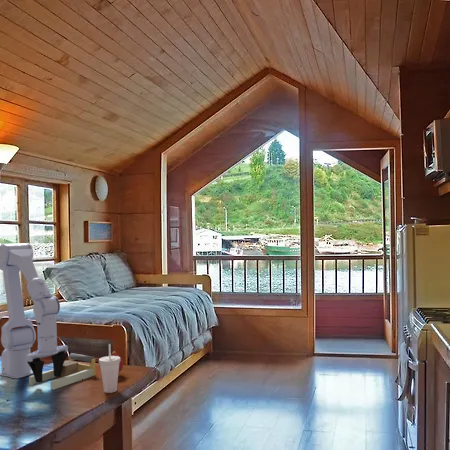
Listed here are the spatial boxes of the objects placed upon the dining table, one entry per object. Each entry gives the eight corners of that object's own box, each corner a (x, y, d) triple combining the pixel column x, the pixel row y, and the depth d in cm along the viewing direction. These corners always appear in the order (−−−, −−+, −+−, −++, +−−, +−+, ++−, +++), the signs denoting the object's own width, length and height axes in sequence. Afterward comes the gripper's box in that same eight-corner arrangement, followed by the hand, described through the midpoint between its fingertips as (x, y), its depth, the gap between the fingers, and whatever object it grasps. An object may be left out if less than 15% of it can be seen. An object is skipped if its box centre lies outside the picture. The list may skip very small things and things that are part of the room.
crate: (55, 379, 169) (54, 363, 169) (68, 375, 174) (67, 360, 174) (65, 381, 166) (65, 366, 166) (78, 377, 171) (78, 362, 171)
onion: (119, 378, 168) (118, 354, 168) (102, 378, 169) (101, 353, 169) (126, 373, 174) (125, 349, 174) (109, 373, 175) (109, 349, 175)
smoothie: (101, 395, 152) (100, 347, 152) (97, 389, 158) (96, 343, 158) (123, 392, 154) (122, 344, 154) (118, 386, 160) (117, 340, 160)
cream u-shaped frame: (29, 384, 165) (28, 364, 165) (72, 370, 179) (72, 352, 179) (53, 389, 159) (52, 369, 158) (96, 374, 173) (96, 356, 173)
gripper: (36, 341, 156) (37, 387, 156) (74, 332, 168) (75, 375, 168) (21, 339, 159) (22, 384, 159) (59, 330, 172) (60, 372, 172)
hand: (48, 379), depth 164 cm, fingers open, 6 cm apart
